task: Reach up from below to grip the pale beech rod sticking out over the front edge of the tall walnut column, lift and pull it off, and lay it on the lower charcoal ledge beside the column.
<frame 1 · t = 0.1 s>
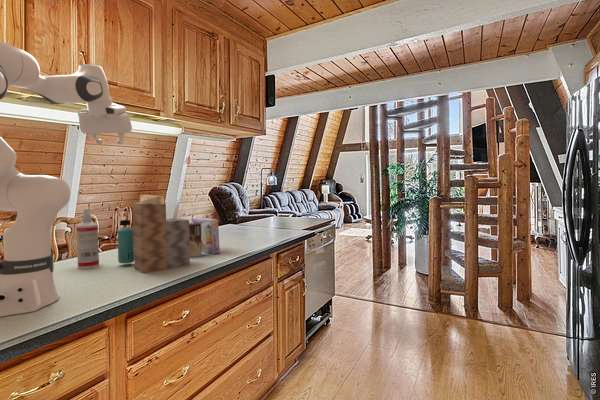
hand: (110, 144, 137), 52 cm above the worktop, tool tilted 20°, fingers open, 8 cm apart
stepped stand: (162, 266, 146), on the worktop
coffee box: (191, 256, 166), on the worktop
cake pan box: (205, 252, 177), on the worktop
rod: (151, 203, 139), point 28 cm above the worktop, touching stepped stand
spray bottle: (88, 267, 146), on the worktop
beverage bottle: (126, 265, 149), on the worktop
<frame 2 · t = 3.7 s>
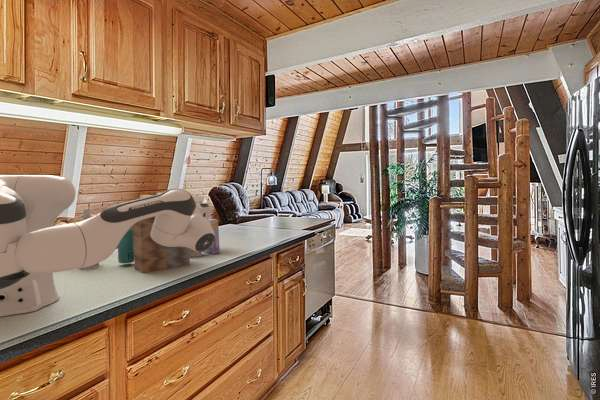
hand: (172, 193, 122), 33 cm above the worktop, tool pointing upward, fingers open, 8 cm apart
nothing on the worktop moved.
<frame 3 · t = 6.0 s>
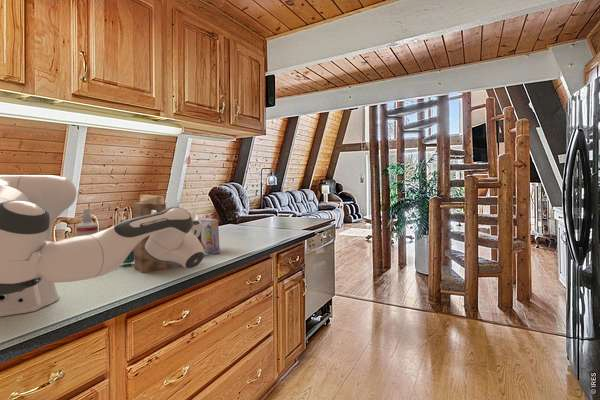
hand: (165, 210, 129), 26 cm above the worktop, tool pointing upward, fingers open, 8 cm apart
nothing on the worktop moved.
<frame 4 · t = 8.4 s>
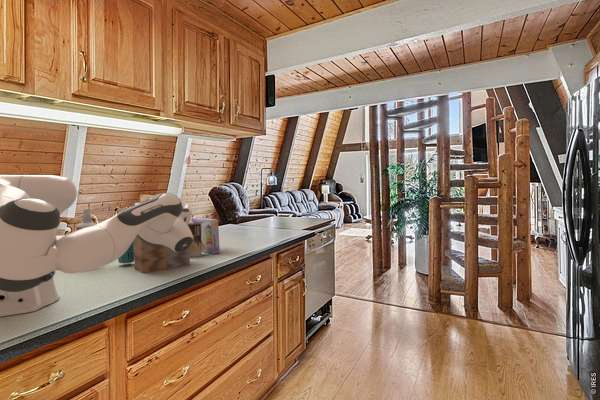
hand: (156, 199, 134), 30 cm above the worktop, tool pointing upward, fingers closed on rod, 3 cm apart
rod: (151, 203, 139), point 28 cm above the worktop, touching gripper
everything else where it was.
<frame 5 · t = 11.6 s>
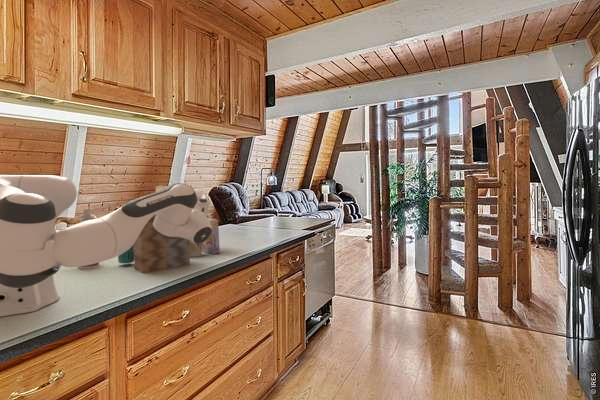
hand: (173, 189, 130), 34 cm above the worktop, tool pointing upward, fingers closed on rod, 3 cm apart
rod: (167, 193, 135), point 32 cm above the worktop, touching gripper
everything else where it was.
when the fingers open (23 cm above the worktop, at t = 15.3 s): rod drops 1 cm, resting on stepped stand.
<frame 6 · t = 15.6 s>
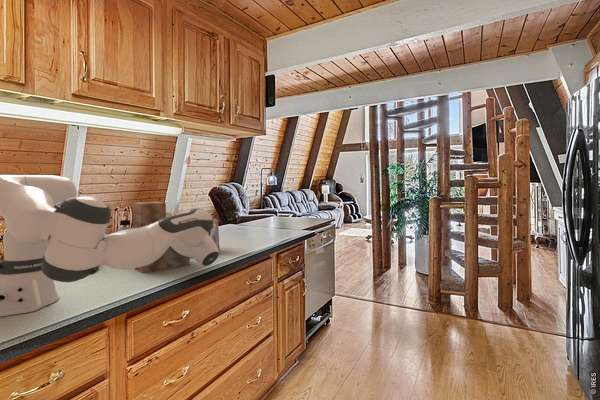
hand: (181, 213, 141), 23 cm above the worktop, tool pointing upward, fingers open, 6 cm apart
rod: (176, 220, 146), point 20 cm above the worktop, touching stepped stand
everything else where it was.
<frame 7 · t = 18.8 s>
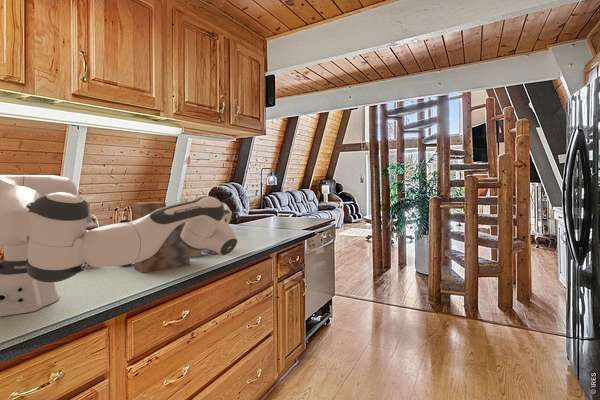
hand: (195, 200, 132), 30 cm above the worktop, tool pointing upward, fingers open, 8 cm apart
nothing on the worktop moved.
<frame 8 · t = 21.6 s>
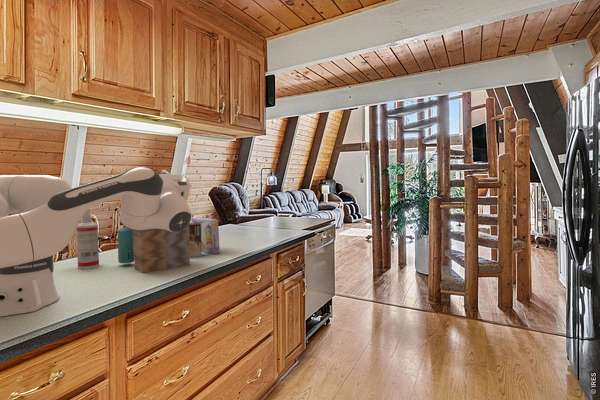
hand: (149, 171, 114), 40 cm above the worktop, tool pointing upward, fingers open, 8 cm apart
nothing on the worktop moved.
at the end: rod inside the target area (0.1 cm from its centre), point 20.0 cm above the worktop; the gripper is holding nothing; rod tilted 0° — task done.
